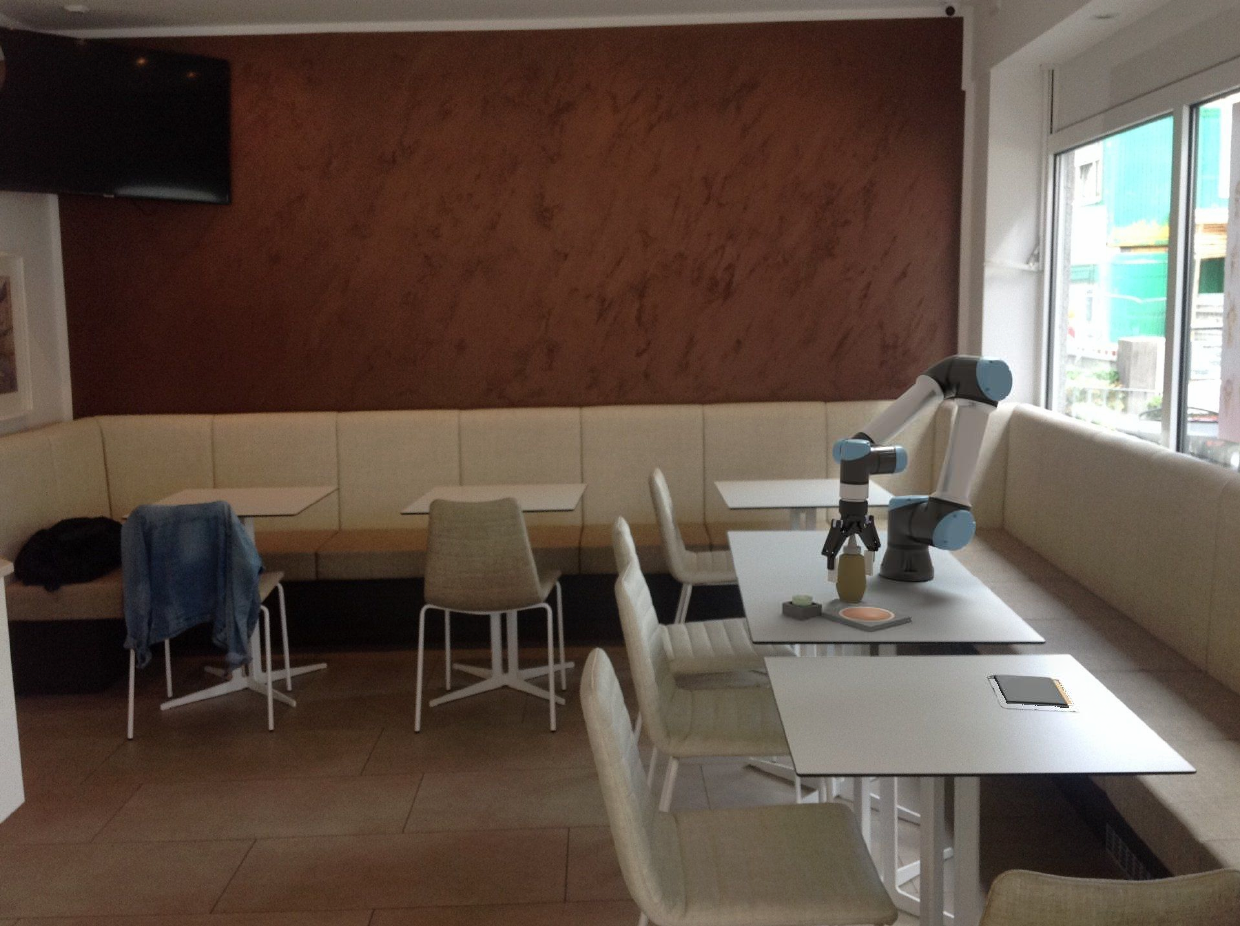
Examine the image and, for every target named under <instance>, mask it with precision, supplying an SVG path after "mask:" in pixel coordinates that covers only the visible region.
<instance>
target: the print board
mask: <svg viewBox="0 0 1240 926" xmlns="http://www.w3.org/2000/svg"><path fill="white" fill-rule="evenodd" d="M821 617H822V618H824V619H828V620H831V621H835V622H837V623H841V624H845V625H848V626H850V627H854V628H857V629H861V630H864V631H868V632H874V631H877V630H882V629H885V628H890V627H893V626H899V625H902V624H906V623H909V622H912V618H913V616H912V615H909V614H905V613H904V614H903V613H900V612H897V611H893V610H890V609H886V608H883V607H879V606H876V605H873V604H869V603H865V602H860V603H856V604H852V605H848V606H847V605H846V606H841V607H839V608H835V609H829V610H826V611H822V616H821Z"/></svg>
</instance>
